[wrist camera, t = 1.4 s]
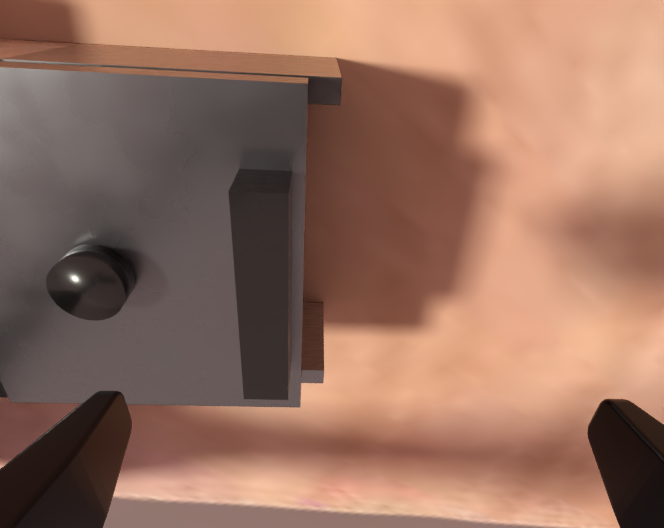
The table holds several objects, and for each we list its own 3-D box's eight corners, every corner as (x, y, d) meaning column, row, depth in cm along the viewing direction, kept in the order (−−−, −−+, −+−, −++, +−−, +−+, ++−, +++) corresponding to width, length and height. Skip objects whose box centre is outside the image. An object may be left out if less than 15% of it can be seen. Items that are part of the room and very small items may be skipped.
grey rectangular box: (321, 341, 25) (321, 414, 21) (-74, 331, 24) (-162, 406, 20) (339, -1, 16) (346, 0, 12) (-281, -39, 15) (-524, -55, 11)
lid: (301, 389, 20) (298, 444, 17) (24, 384, 19) (-18, 439, 17) (308, 77, 13) (306, 95, 10) (-121, 54, 12) (-228, 68, 10)
